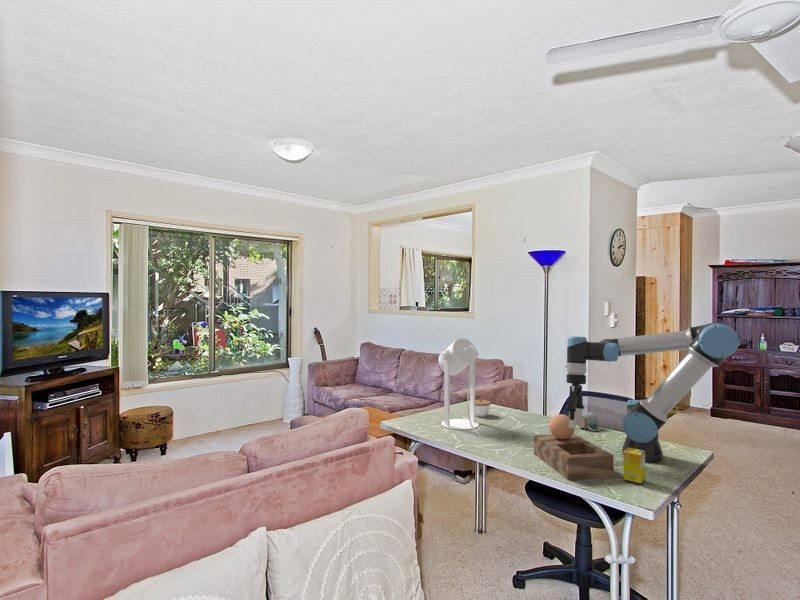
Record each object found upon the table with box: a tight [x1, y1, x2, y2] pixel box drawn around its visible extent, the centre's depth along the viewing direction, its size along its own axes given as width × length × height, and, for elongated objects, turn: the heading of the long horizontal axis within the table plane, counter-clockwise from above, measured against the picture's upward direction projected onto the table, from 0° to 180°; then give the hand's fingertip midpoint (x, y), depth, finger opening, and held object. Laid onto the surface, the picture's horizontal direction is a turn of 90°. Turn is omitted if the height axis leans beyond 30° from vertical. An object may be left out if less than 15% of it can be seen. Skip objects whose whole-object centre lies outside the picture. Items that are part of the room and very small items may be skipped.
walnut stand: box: [533, 432, 615, 481], centre depth 184 cm, size 28×18×8 cm, turn 9°
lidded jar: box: [475, 398, 491, 418], centre depth 260 cm, size 11×11×9 cm
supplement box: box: [622, 448, 646, 486], centre depth 168 cm, size 6×6×11 cm
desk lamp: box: [438, 337, 481, 435], centre depth 239 cm, size 21×32×45 cm, turn 28°
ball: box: [548, 413, 576, 439], centre depth 192 cm, size 10×10×10 cm
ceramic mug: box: [576, 411, 600, 432], centre depth 233 cm, size 11×8×8 cm
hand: (575, 426), depth 191 cm, fingers open, 13 cm apart
